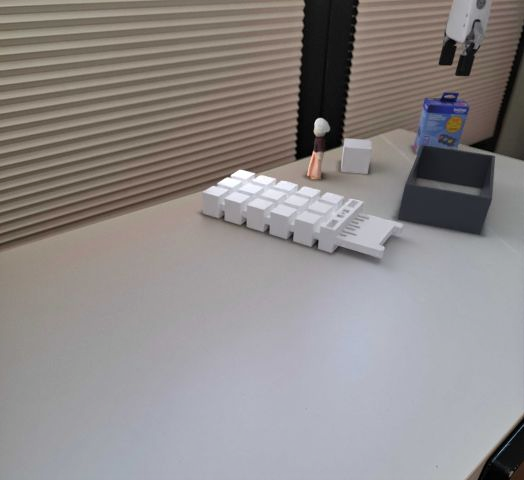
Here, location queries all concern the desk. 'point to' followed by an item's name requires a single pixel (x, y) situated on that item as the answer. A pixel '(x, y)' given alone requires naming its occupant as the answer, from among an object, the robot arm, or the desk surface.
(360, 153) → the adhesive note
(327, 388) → the desk surface
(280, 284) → the desk surface
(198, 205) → the desk surface
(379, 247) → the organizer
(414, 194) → the bin
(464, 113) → the ink cartridge box
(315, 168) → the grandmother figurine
